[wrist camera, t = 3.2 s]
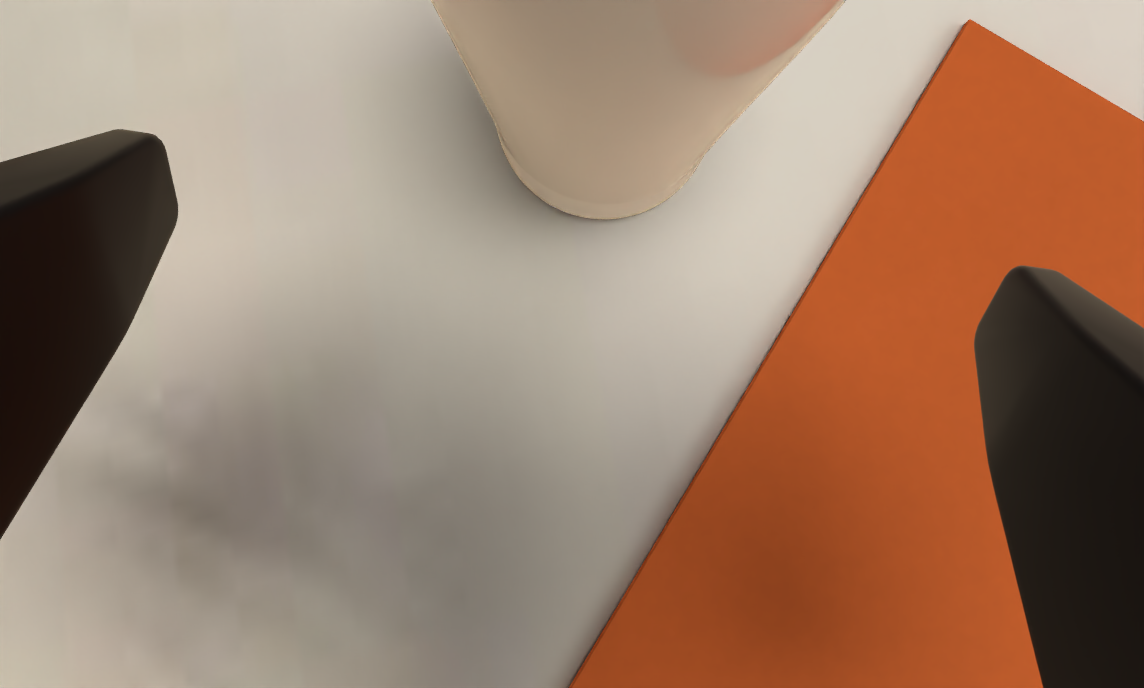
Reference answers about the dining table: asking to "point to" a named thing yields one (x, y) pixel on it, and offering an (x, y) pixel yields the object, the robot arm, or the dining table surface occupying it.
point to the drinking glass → (621, 86)
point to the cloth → (890, 411)
